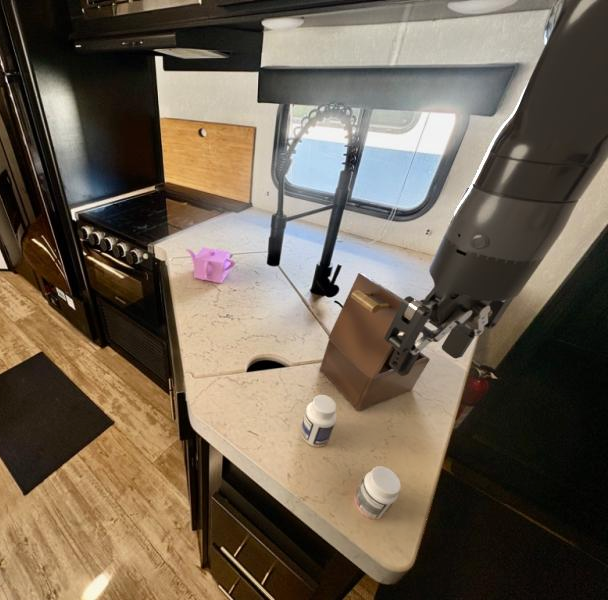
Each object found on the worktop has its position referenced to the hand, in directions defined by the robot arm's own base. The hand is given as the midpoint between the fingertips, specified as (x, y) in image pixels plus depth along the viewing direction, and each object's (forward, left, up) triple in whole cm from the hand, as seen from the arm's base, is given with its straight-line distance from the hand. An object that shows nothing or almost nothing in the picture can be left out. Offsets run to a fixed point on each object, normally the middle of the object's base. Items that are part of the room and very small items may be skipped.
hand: (424, 361), depth 38 cm
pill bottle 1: (+7, -7, -29) cm, 30 cm away
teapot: (+33, -65, -29) cm, 79 cm away
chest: (-7, -22, -29) cm, 37 cm away
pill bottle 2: (0, +5, -29) cm, 29 cm away
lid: (-2, -20, -10) cm, 22 cm away
